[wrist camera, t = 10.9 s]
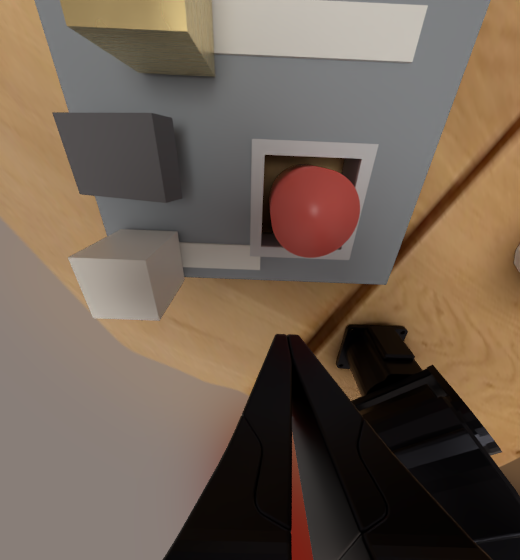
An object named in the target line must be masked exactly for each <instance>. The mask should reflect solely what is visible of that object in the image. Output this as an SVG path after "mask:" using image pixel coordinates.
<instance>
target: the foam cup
mask: <svg viewBox="0 0 520 560" xmlns="http://www.w3.org/2000/svg"><path fill="white" fill-rule="evenodd" d="M514 265H515V266H516V268H517V270H518V271H519V272H520V245H519V246H518V247H517V249H516V252H515V258H514Z"/></svg>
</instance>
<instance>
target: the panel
mask: <svg viewBox="0 0 520 560" xmlns="http://www.w3.org/2000/svg"><path fill="white" fill-rule="evenodd" d="M489 3H490V0H212V18H213V39H214V61H215V77H214V76H192V75H170V74H148V73H138V72H137V71H135V70H134V69H132V68H131V67H129V66H128V65H126V64H124V63H123V62H121V61H120V60H118V59H117V58H115V57H114V56H112V55H111V54H109V53H108V52H106V51H104V50H103V49H101V48H100V47H98V46H97V45H95V44H94V43H92V42H91V41H89V40H88V39H86V38H85V37H83V36H81V35H80V34H78V33H77V32H75V31H74V30H72V29H71V28H69V27H68V26H67V25H66V22H65V18H64V14H63V11H62V7H61V3H60V0H35V4H36V7H37V10H38V13H39V17H40V20H41V23H42V26H43V30H44V33H45V36H46V39H47V42H48V46H49V49H50V52H51V55H52V59H53V62H54V65H55V68H56V72H57V75H58V78H59V81H60V85H61V88H62V91H63V94H64V97H65V101H66V104H67V107H68V110H69V113H155V114H159V115H163V116H167V117H171V118H172V120H173V127H174V135H175V143H176V151H177V159H178V167H179V175H180V182H181V190H182V199H179V200H175V201H172V202H168V203H161V202H151V201H141V200H132V199H122V198H112V197H102V196H95V198H96V201H97V204H98V207H99V211H100V214H101V217H102V220H103V224H104V227H105V230H106V233H107V236H109V235H111V234H113V233H115V232H117V231H119V230H120V229H131V230H156V231H177V232H178V239H179V245H180V252H181V259H182V266H183V272H184V277H198V278H225V279H251V280H277V281H303V282H330V283H356V284H382V285H386V284H387V281H388V279H389V276H390V273H391V270H392V268H393V265H394V262H395V259H396V257H397V254H398V251H399V249H400V246H401V243H402V240H403V238H404V235H405V232H406V229H407V227H408V224H409V221H410V219H411V216H412V213H413V210H414V208H415V205H416V202H417V199H418V197H419V194H420V191H421V189H422V186H423V183H424V180H425V178H426V175H427V172H428V169H429V167H430V164H431V161H432V158H433V156H434V153H435V150H436V148H437V145H438V142H439V139H440V137H441V134H442V131H443V128H444V126H445V123H446V120H447V118H448V115H449V112H450V109H451V107H452V104H453V101H454V98H455V96H456V93H457V90H458V88H459V85H460V82H461V79H462V77H463V74H464V71H465V68H466V66H467V63H468V60H469V58H470V55H471V52H472V49H473V47H474V44H475V41H476V38H477V36H478V33H479V30H480V28H481V25H482V22H483V19H484V17H485V14H486V11H487V8H488V6H489ZM265 155H284V156H307V157H331V158H345V160H344V165H343V170H342V175H344V176H345V177H346V178H347V179H349V180H350V181H351V183H352V184H353V185H354V187H355V189H356V191H357V193H358V196H359V200H360V215H359V220H358V223H357V226H356V228H355V230H354V232H353V234H352V235H351V237H350V238H349V239H348V240H347V241H346V242H345V243H344V244H343V245H342V246H341V247H340V248H338V249H337V250H335V251H334V252H332V253H330V254H327V255H325V256H321V257H315V258H306V257H300V256H297V255H294V254H292V253H290V252H289V251H287V250H286V249H285V248H284V247H283V246H281V244H280V243H279V242H278V240H277V239H276V237H275V235H274V234H271V233H261V231H262V207H263V183H264V159H265Z"/></svg>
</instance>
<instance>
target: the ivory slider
mask: <svg viewBox="0 0 520 560" xmlns="http://www.w3.org/2000/svg"><path fill="white" fill-rule="evenodd" d="M68 259H69V261H70V264H71V266H72V269H73V271H74V273H75V276H76V278H77V280H78V283H79V285H80V288H81V290H82V292H83V295H84V297H85V300H86V302H87V304H88V307H89V309H90V311H91V314H92V316H93V318H103V319H130V320H158V321H160V319H161V317H162V316H163V314H164V313H165V311H166V309H167V308H168V306H169V304H170V303H171V301H172V300H173V298H174V296H175V295H176V293H177V292H178V290H179V288H180V287H181V285H182V284H183V282H184V280H185V279H184V272H183V266H182V259H181V252H180V245H179V239H178V232H177V231H156V230H131V229H120V230H119V231H117V232H115V233H113V234H111V235H109V236H107V237H105V238H104V239H102V240H100V241H98V242H96V243H94V244H92V245H90V246H88V247H87V248H85V249H83V250H81V251H79V252H77V253H75V254H73V255H72V256H70V257H68Z"/></svg>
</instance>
